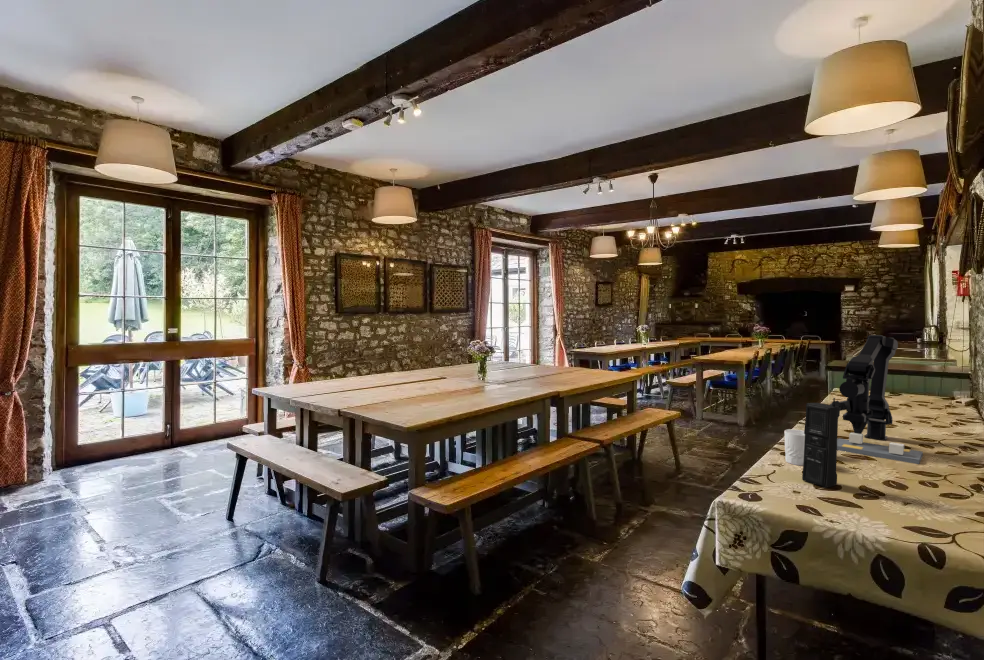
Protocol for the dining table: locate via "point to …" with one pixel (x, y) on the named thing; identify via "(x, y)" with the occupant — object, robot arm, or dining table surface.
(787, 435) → the white cup
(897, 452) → the slider
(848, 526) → the dining table surface
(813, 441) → the portable radio
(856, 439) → the slider
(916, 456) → the switch panel
